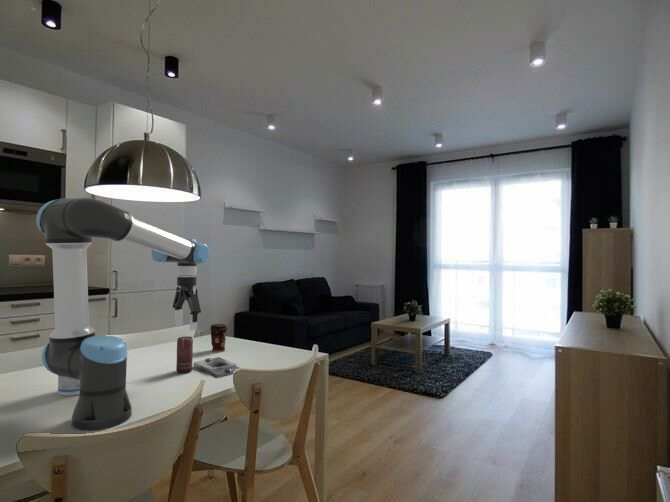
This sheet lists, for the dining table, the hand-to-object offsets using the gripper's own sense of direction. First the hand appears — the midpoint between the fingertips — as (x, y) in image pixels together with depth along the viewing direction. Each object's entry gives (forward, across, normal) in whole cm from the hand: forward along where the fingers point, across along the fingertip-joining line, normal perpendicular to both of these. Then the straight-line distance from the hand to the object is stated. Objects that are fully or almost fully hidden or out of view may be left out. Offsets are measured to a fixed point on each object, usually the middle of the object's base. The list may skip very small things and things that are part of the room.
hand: (185, 327), depth 162 cm
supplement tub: (+18, +3, +38) cm, 42 cm away
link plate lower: (+18, -9, -12) cm, 23 cm away
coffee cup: (+18, +22, -28) cm, 40 cm away
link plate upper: (+18, -3, -12) cm, 22 cm away
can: (+18, 0, 0) cm, 18 cm away
